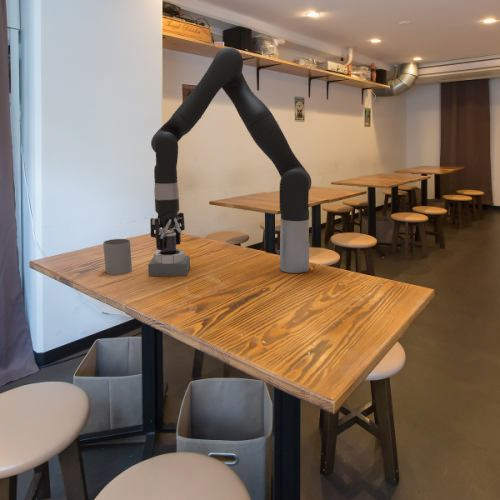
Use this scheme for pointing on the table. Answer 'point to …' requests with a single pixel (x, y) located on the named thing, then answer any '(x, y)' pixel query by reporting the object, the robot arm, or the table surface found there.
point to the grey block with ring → (169, 264)
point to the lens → (169, 243)
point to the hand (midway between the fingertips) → (169, 247)
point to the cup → (117, 256)
